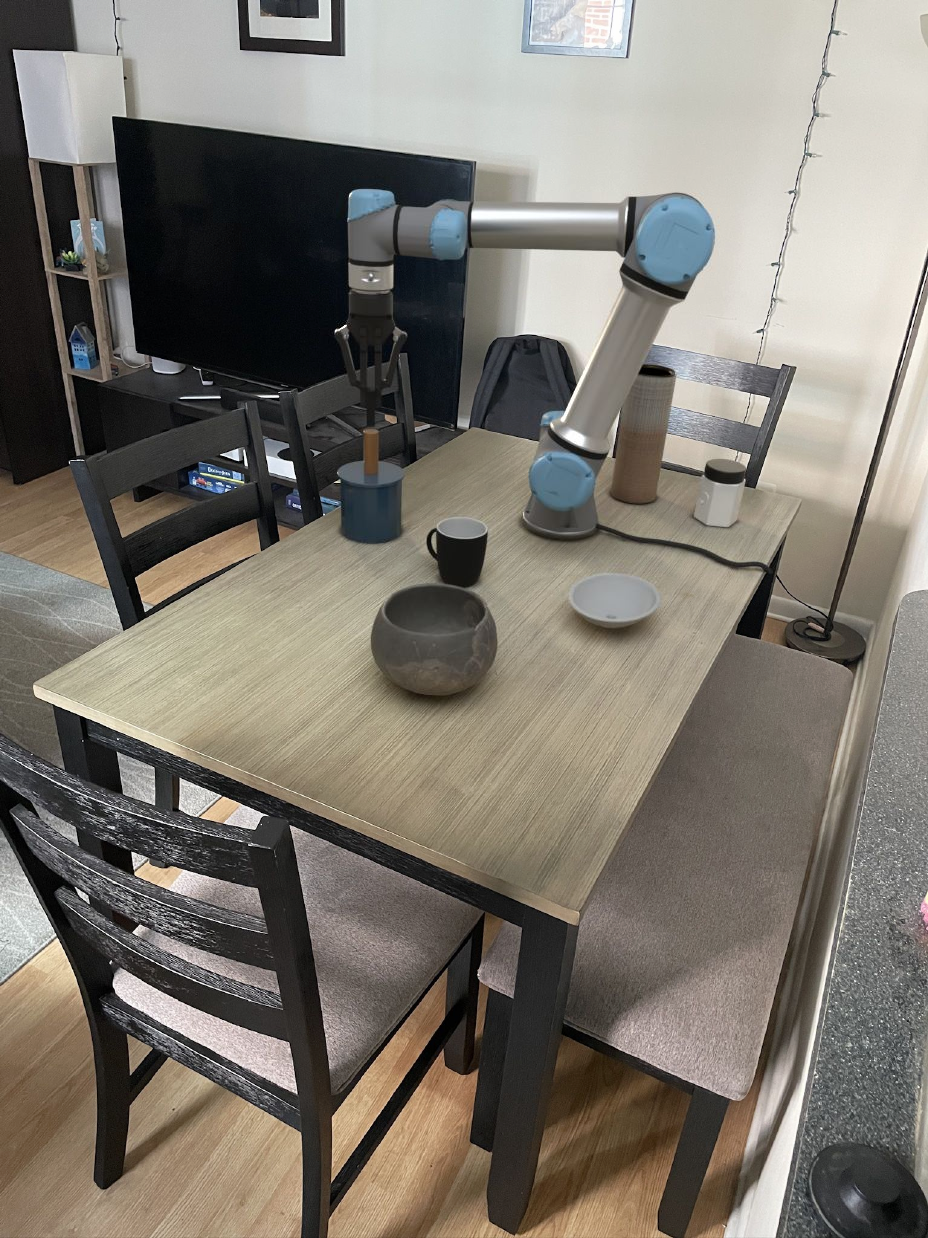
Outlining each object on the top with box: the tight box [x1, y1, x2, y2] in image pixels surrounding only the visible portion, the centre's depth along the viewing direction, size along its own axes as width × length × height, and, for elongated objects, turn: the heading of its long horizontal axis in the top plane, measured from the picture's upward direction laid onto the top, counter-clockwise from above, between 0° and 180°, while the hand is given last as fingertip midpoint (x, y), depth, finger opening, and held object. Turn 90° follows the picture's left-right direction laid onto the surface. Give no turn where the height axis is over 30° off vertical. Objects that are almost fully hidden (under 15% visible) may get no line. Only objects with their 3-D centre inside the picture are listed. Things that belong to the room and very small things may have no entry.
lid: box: [337, 428, 405, 488], centre depth 167 cm, size 13×13×9 cm
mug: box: [425, 516, 489, 588], centre depth 157 cm, size 12×9×10 cm
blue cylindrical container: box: [339, 479, 403, 544], centre depth 172 cm, size 12×12×12 cm
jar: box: [693, 458, 747, 528], centre depth 185 cm, size 9×8×12 cm
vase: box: [610, 363, 678, 505], centre depth 190 cm, size 10×10×28 cm
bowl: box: [370, 582, 499, 696], centre depth 127 cm, size 18×18×13 cm
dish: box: [567, 572, 661, 629], centre depth 147 cm, size 18×14×5 cm
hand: (370, 424), depth 164 cm, fingers closed
